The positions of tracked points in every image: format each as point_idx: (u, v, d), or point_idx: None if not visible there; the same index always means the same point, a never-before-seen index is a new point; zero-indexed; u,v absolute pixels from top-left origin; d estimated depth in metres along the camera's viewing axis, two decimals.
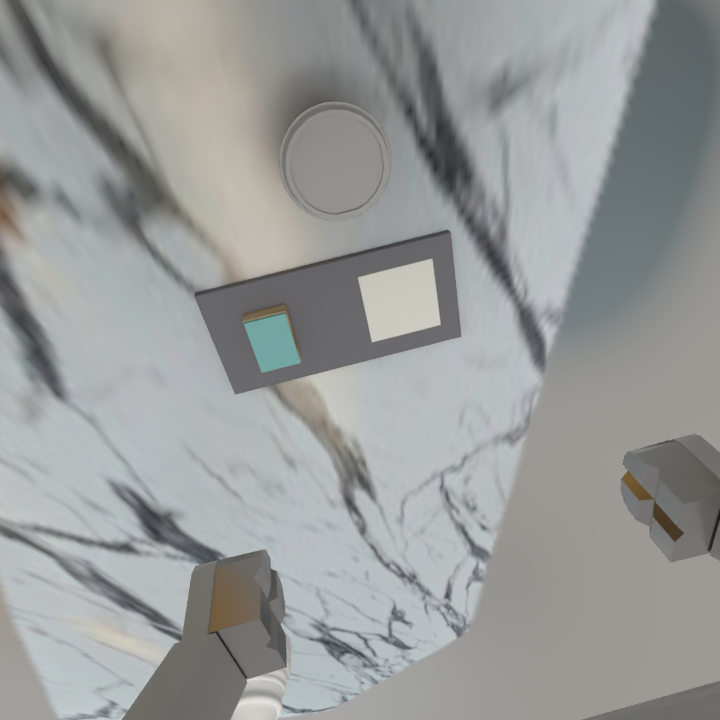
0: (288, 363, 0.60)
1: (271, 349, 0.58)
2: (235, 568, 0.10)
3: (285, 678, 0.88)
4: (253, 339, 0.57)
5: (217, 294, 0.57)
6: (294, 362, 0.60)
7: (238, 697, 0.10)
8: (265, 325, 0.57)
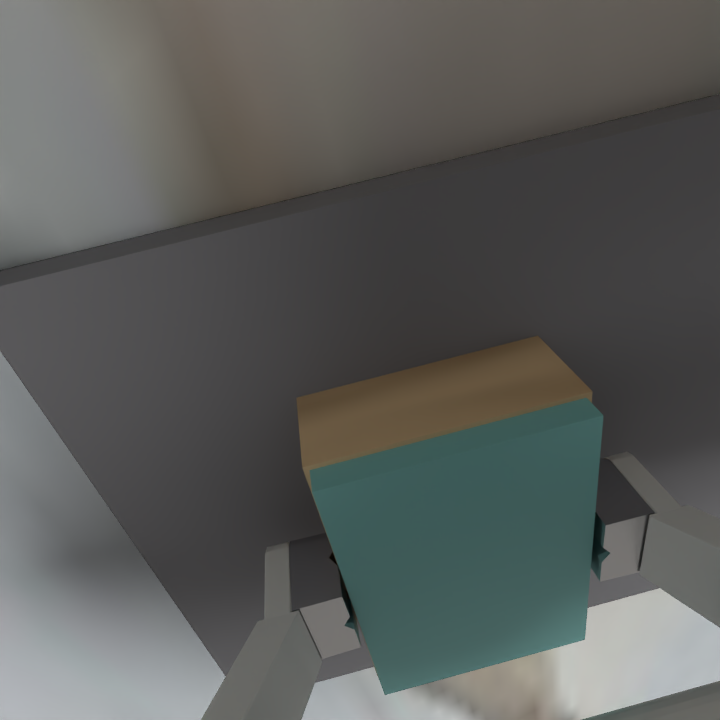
0: (526, 647, 0.11)
1: (461, 601, 0.10)
2: (308, 549, 0.10)
3: None
4: (365, 568, 0.09)
5: (127, 280, 0.08)
6: (556, 640, 0.11)
7: (315, 676, 0.10)
8: (455, 491, 0.08)
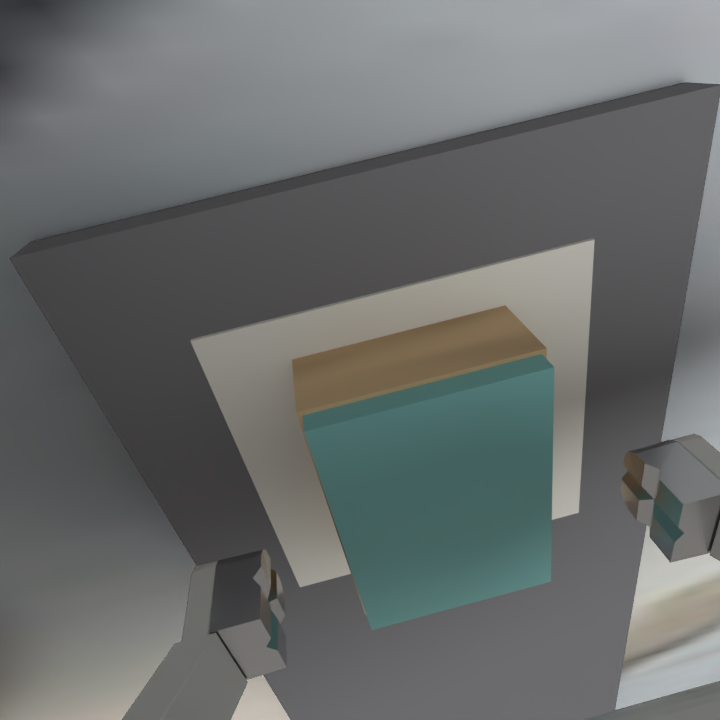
0: (498, 587, 0.13)
1: (437, 539, 0.11)
2: (236, 568, 0.10)
3: None
4: (351, 505, 0.10)
5: None
6: (525, 582, 0.13)
7: (238, 697, 0.10)
8: (428, 434, 0.10)
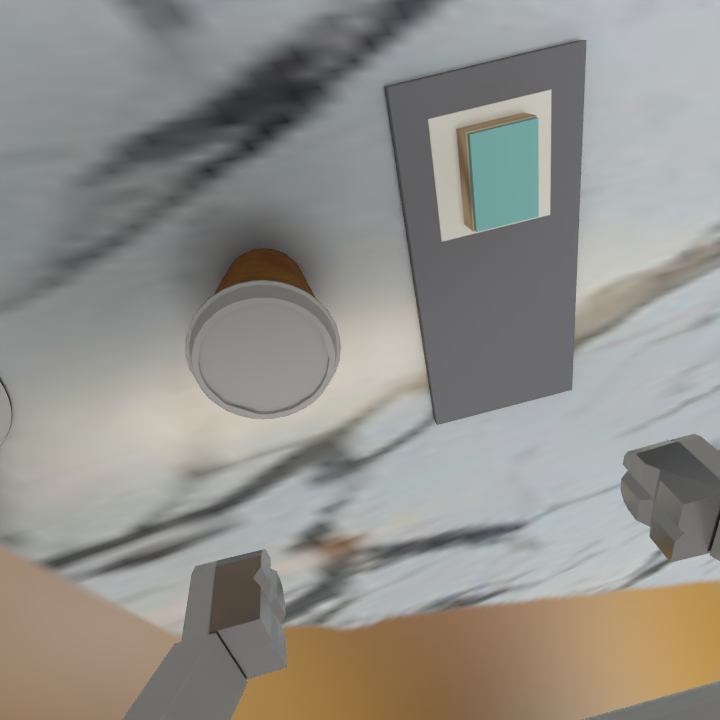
0: (520, 216, 0.37)
1: (501, 187, 0.36)
2: (235, 568, 0.10)
3: None
4: (478, 166, 0.35)
5: (438, 404, 0.48)
6: (529, 215, 0.37)
7: (238, 697, 0.10)
8: (502, 139, 0.34)
